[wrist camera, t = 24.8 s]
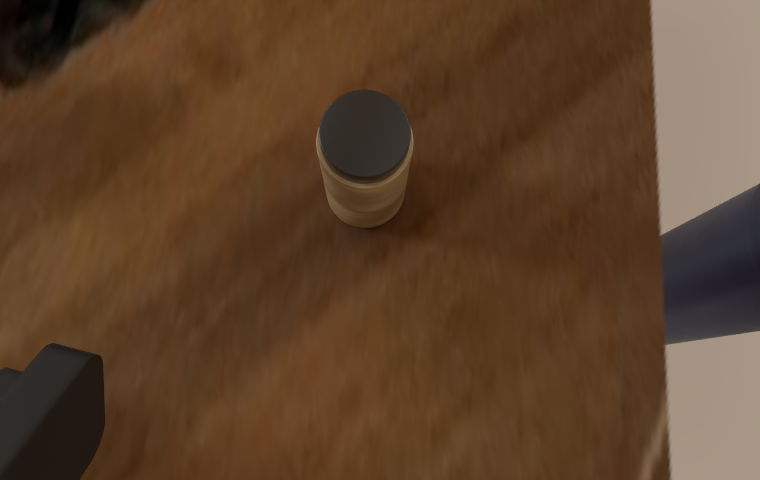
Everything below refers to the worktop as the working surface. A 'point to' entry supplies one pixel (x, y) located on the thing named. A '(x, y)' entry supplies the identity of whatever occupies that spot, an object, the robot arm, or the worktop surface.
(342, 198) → the beige jar
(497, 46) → the worktop surface
